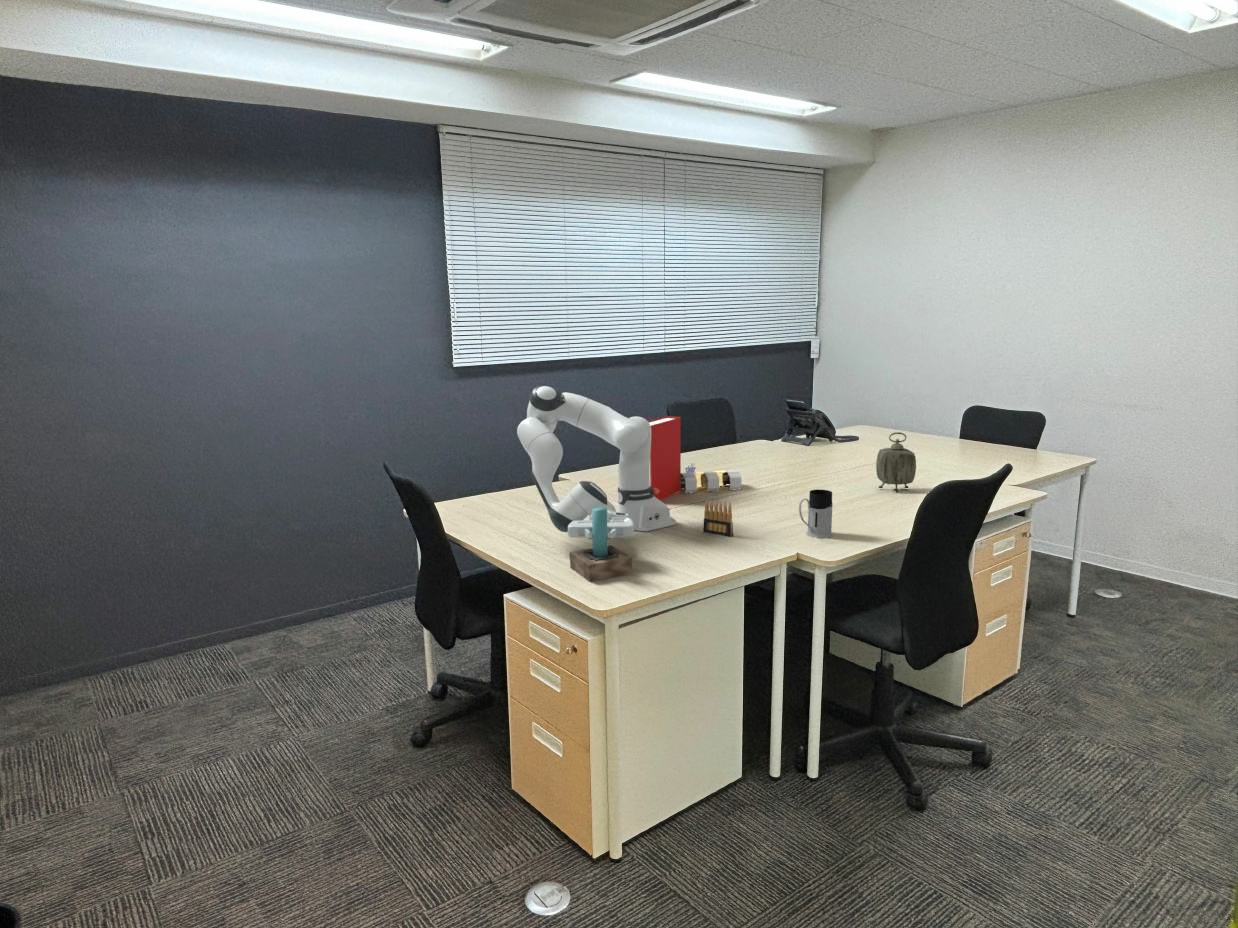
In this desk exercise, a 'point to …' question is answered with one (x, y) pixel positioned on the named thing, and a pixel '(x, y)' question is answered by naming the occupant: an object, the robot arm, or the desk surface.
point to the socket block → (601, 564)
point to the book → (665, 456)
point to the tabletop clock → (896, 464)
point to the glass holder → (819, 513)
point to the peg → (599, 532)
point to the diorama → (709, 479)
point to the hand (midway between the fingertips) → (599, 536)
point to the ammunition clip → (718, 519)
